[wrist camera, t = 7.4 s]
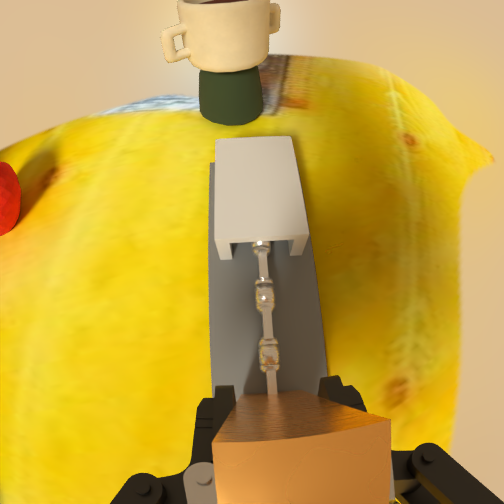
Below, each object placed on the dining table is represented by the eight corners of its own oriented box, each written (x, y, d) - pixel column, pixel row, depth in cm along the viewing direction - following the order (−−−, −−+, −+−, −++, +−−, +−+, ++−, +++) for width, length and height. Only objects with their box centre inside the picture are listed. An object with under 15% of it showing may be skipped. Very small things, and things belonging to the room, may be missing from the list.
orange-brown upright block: (233, 230, 20) (212, 74, 9) (284, 227, 20) (310, 72, 9) (247, 485, 13) (236, 619, 2) (305, 480, 13) (371, 599, 2)
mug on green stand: (256, 80, 29) (255, -20, 17) (296, 110, 27) (309, -5, 15) (169, 115, 27) (141, 6, 15) (200, 153, 24) (172, 19, 12)
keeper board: (211, 170, 23) (203, 126, 19) (294, 166, 24) (301, 122, 19) (225, 519, 13) (217, 555, 8) (328, 509, 13) (348, 542, 8)
